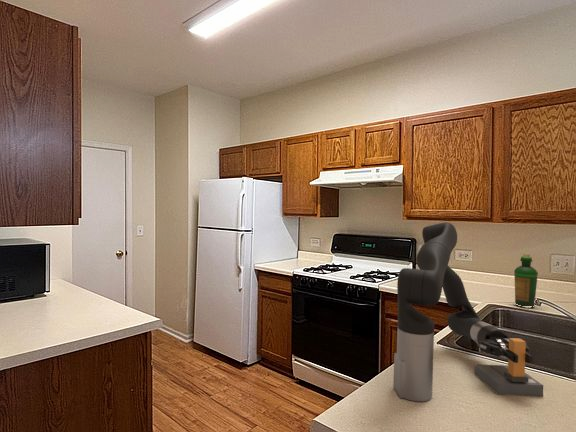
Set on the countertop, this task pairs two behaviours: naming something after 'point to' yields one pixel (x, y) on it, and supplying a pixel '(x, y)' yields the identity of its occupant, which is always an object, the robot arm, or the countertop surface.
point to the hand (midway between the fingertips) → (523, 359)
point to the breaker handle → (518, 369)
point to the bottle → (525, 282)
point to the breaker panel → (507, 381)
